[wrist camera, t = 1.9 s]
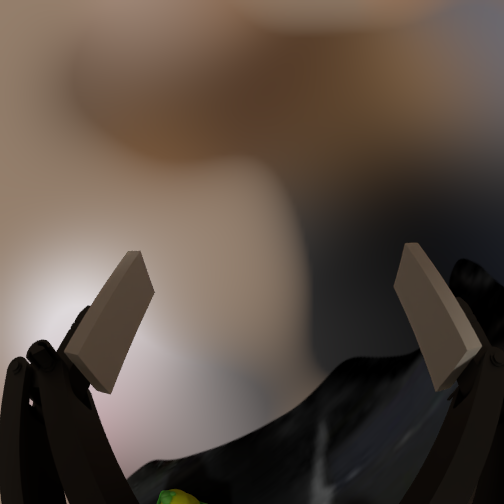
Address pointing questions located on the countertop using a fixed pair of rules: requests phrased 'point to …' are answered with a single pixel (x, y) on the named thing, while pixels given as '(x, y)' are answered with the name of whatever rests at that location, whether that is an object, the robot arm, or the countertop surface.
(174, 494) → the fruit basket
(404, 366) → the countertop surface
